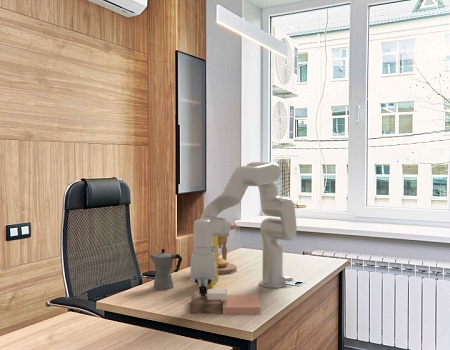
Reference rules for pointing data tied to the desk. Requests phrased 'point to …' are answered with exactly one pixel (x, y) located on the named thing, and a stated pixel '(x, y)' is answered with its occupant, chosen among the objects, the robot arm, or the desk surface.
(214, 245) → the book
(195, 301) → the deck
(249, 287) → the desk surface
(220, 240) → the hourglass
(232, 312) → the mat
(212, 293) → the tile
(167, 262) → the coffeepot
